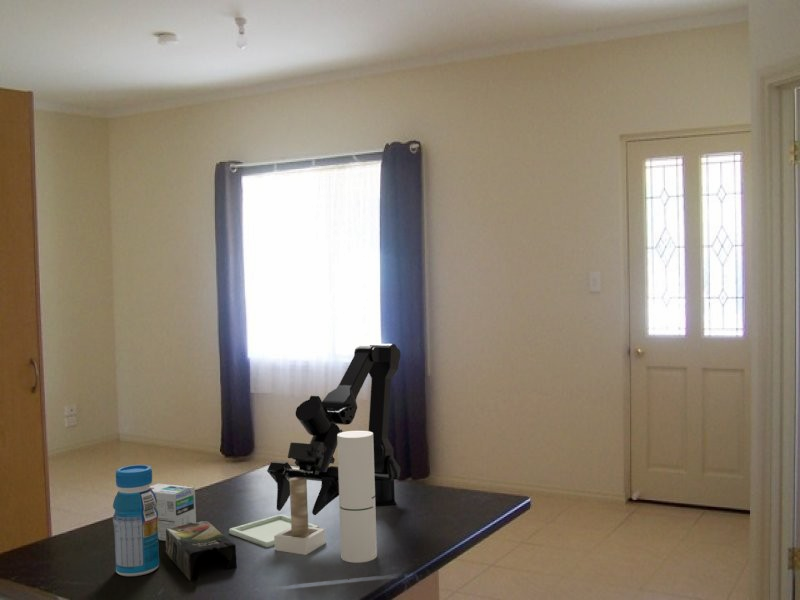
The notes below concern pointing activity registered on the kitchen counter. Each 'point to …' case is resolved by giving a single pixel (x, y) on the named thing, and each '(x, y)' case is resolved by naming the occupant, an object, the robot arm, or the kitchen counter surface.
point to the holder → (300, 541)
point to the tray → (264, 529)
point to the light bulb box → (174, 506)
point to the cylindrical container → (357, 496)
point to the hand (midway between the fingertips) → (295, 512)
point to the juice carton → (197, 545)
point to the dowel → (299, 507)
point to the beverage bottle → (135, 522)
